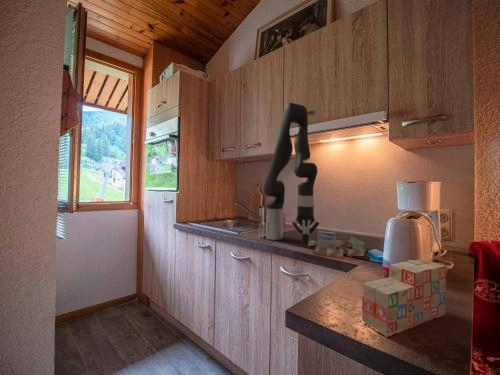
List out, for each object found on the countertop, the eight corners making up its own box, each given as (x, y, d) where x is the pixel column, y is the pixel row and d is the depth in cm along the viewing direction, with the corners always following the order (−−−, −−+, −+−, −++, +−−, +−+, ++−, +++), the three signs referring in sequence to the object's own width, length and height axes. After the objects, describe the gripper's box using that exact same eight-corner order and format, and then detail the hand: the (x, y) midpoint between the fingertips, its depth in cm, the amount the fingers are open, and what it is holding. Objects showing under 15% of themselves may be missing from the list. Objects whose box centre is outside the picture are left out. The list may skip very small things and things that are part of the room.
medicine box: (317, 250, 116) (317, 232, 115) (319, 248, 119) (319, 230, 119) (334, 252, 112) (335, 233, 112) (336, 250, 116) (336, 232, 116)
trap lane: (318, 256, 106) (318, 245, 105) (308, 246, 122) (308, 236, 122) (368, 256, 106) (369, 245, 106) (352, 246, 123) (352, 236, 123)
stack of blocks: (387, 339, 50) (388, 279, 50) (361, 323, 55) (362, 269, 55) (445, 315, 59) (446, 264, 59) (418, 304, 65) (419, 257, 64)
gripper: (317, 204, 119) (317, 240, 119) (290, 204, 119) (289, 240, 119) (321, 206, 111) (321, 243, 112) (292, 205, 111) (292, 243, 112)
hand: (305, 241), depth 115 cm, fingers closed
